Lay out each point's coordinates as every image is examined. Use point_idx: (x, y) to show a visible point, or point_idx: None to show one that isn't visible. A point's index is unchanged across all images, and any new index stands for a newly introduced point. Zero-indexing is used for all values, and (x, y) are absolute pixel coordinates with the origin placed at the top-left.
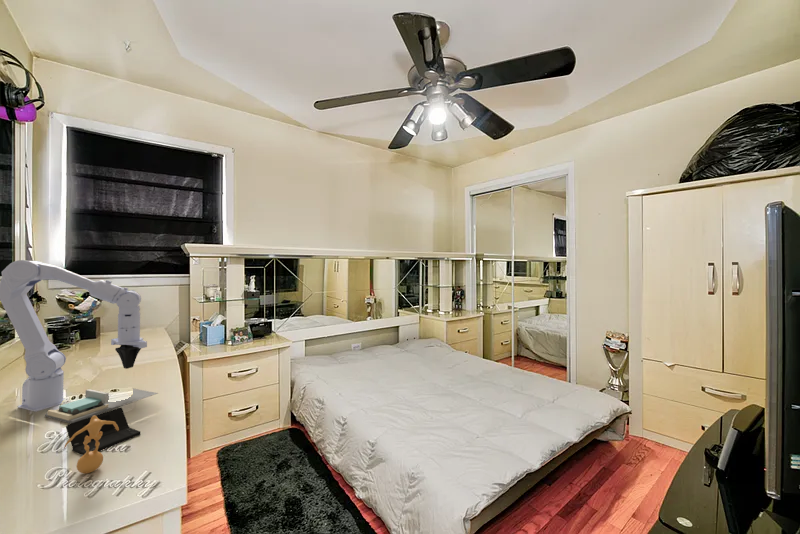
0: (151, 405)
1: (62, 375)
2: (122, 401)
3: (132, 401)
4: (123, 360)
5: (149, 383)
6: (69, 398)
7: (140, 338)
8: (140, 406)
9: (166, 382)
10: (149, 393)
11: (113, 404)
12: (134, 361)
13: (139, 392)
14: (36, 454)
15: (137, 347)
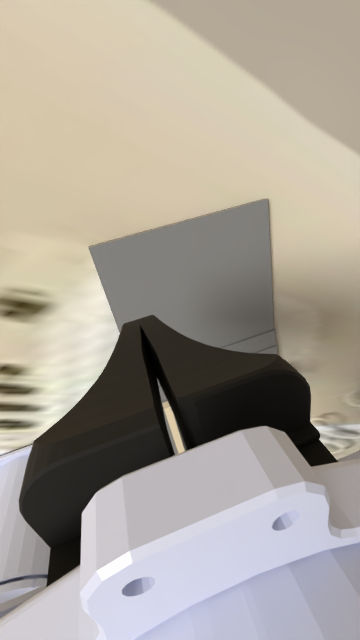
0: (344, 264)
1: (43, 568)
2: (235, 322)
3: (267, 300)
4: (163, 412)
5: (22, 135)
6: (5, 434)
7: (297, 543)
8: (319, 289)
9: (93, 46)
10: (237, 225)
11: (245, 349)
12: (168, 328)
13: (184, 249)
14: (347, 452)
15: (309, 422)
